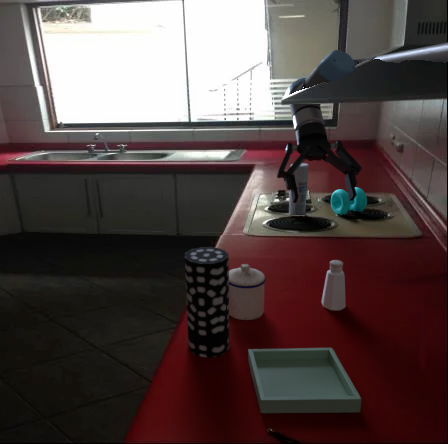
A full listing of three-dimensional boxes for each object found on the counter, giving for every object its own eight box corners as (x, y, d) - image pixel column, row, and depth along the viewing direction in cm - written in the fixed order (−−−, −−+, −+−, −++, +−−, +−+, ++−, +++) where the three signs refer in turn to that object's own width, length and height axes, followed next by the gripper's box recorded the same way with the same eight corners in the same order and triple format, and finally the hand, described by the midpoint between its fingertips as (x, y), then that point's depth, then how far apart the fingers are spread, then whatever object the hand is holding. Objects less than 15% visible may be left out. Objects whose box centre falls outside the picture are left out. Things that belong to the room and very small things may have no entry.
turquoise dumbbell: (367, 215, 158) (369, 190, 155) (343, 218, 157) (345, 192, 154) (350, 208, 168) (352, 184, 165) (328, 211, 166) (330, 187, 163)
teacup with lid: (270, 307, 98) (272, 262, 95) (255, 325, 91) (255, 277, 88) (225, 295, 105) (224, 252, 101) (207, 311, 98) (206, 266, 95)
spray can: (296, 211, 169) (298, 162, 163) (309, 215, 163) (312, 164, 157) (284, 214, 166) (286, 164, 160) (297, 218, 160) (299, 166, 154)
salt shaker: (343, 313, 94) (347, 268, 91) (318, 307, 97) (321, 264, 94) (347, 302, 98) (351, 259, 95) (323, 297, 101) (326, 255, 98)
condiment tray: (331, 359, 79) (332, 347, 78) (360, 412, 66) (361, 399, 65) (247, 360, 80) (248, 349, 79) (260, 413, 67) (260, 400, 66)
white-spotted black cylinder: (195, 331, 91) (192, 245, 84) (233, 337, 87) (232, 249, 81) (182, 353, 83) (178, 261, 77) (223, 361, 80) (222, 265, 74)
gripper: (353, 136, 113) (371, 204, 103) (260, 140, 115) (269, 208, 105) (363, 117, 106) (383, 189, 97) (264, 122, 108) (274, 193, 98)
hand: (324, 199), depth 101 cm, fingers open, 13 cm apart
